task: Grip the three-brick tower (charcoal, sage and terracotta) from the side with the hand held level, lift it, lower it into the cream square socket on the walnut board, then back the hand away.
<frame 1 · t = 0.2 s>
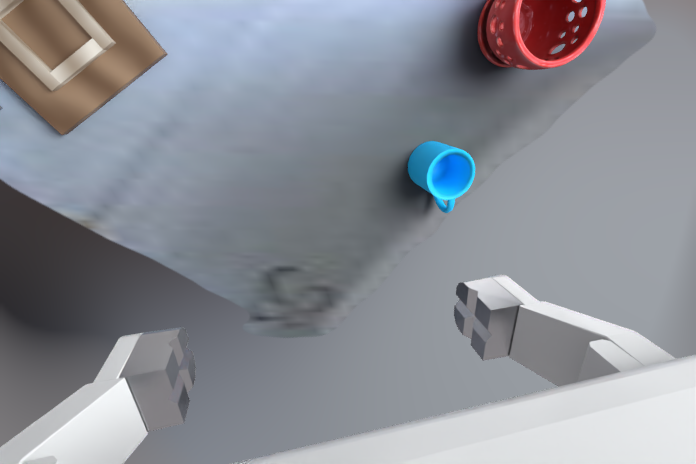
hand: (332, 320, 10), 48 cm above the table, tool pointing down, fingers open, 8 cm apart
socket board: (57, 31, 43), on the table
plant pot: (503, 26, 54), on the table
mug: (430, 174, 62), on the table
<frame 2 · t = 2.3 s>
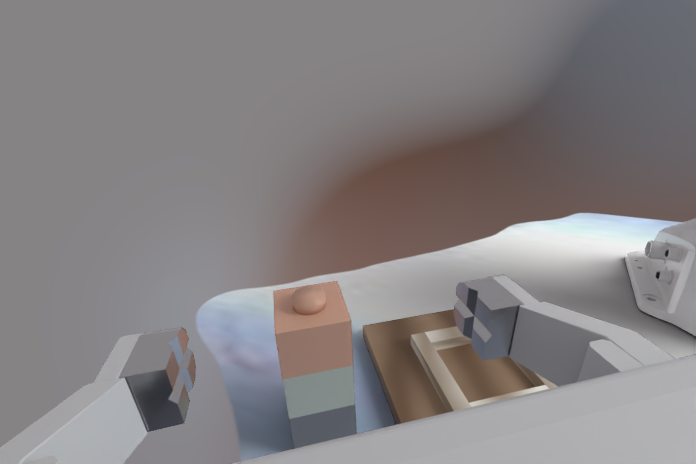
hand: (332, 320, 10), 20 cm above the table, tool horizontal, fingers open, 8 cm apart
socket board: (480, 383, 32), on the table
brick tower: (321, 418, 29), on the table
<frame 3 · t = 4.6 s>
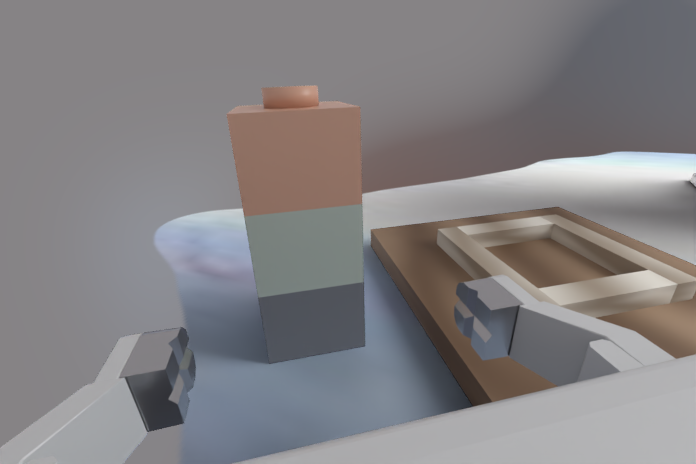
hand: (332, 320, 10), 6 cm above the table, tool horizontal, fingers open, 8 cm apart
socket board: (539, 286, 23), on the table
brick tower: (312, 324, 20), on the table
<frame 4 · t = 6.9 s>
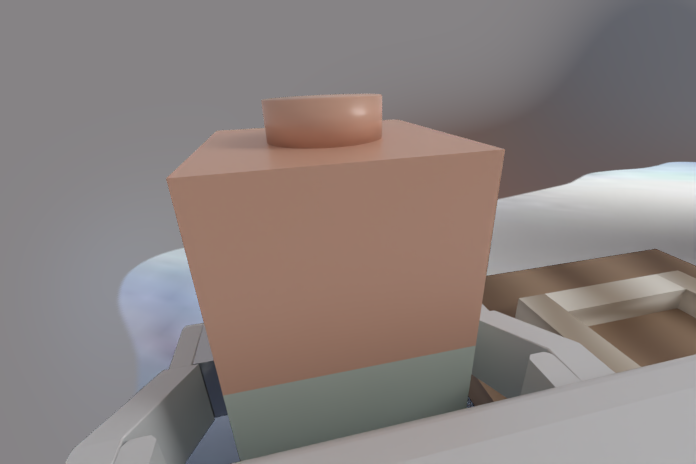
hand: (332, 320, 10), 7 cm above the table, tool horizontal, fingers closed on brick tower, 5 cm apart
socket board: (687, 397, 15), on the table
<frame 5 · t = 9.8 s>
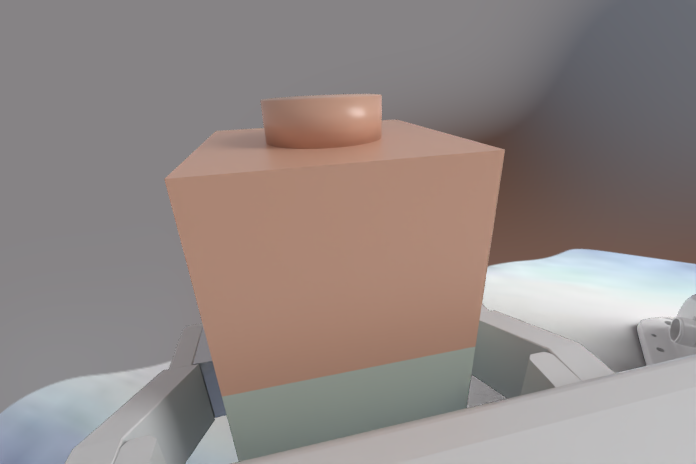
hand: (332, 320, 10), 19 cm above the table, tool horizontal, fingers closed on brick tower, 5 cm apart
when the fingers open (9 cm above the table, at t = 12.9 s): brick tower stays where it is, resting on socket board.
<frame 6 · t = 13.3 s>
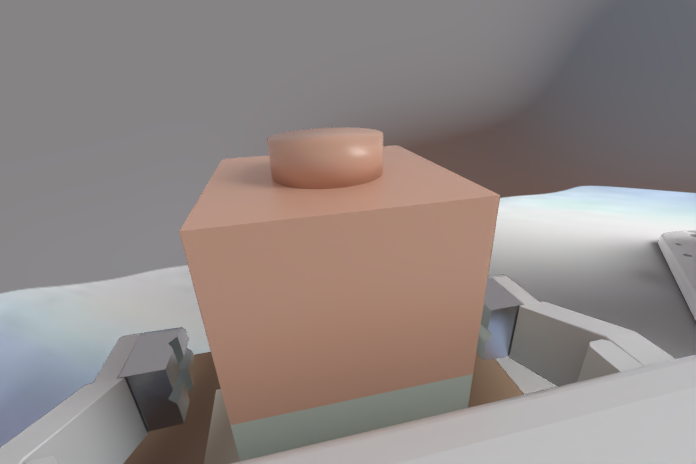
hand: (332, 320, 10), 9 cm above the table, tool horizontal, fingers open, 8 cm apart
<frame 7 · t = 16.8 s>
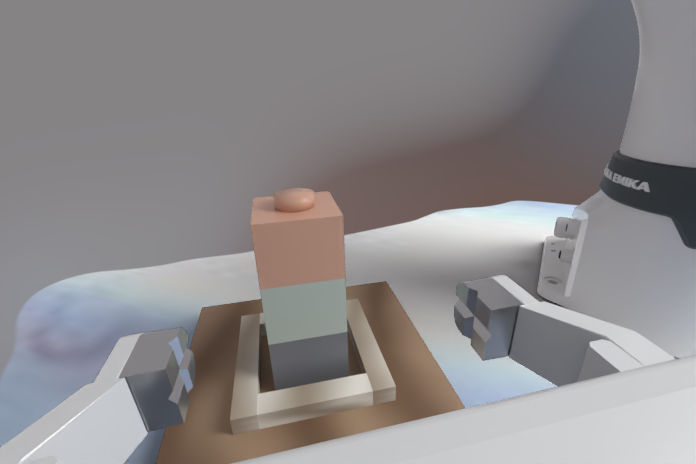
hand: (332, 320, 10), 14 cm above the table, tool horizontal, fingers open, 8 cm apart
socket board: (310, 374, 26), on the table
brick tower: (309, 359, 25), point 1 cm above the table, touching socket board
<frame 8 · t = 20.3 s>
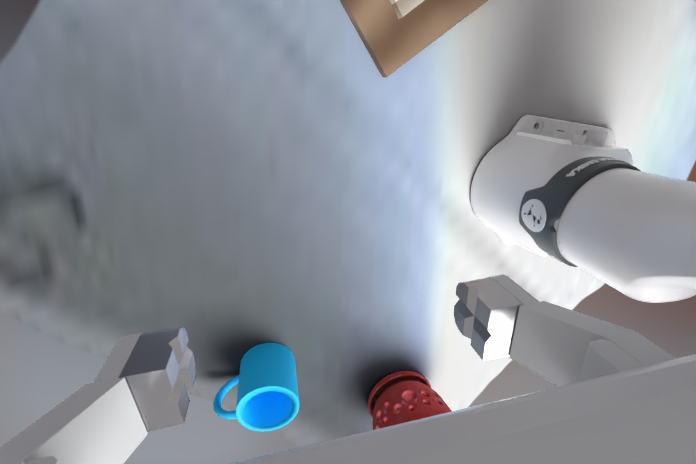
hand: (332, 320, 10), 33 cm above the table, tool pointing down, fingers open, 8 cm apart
plant pot: (397, 388, 61), on the table
mug: (255, 367, 52), on the table
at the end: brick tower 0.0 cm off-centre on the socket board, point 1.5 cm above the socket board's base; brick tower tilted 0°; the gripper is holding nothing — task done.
